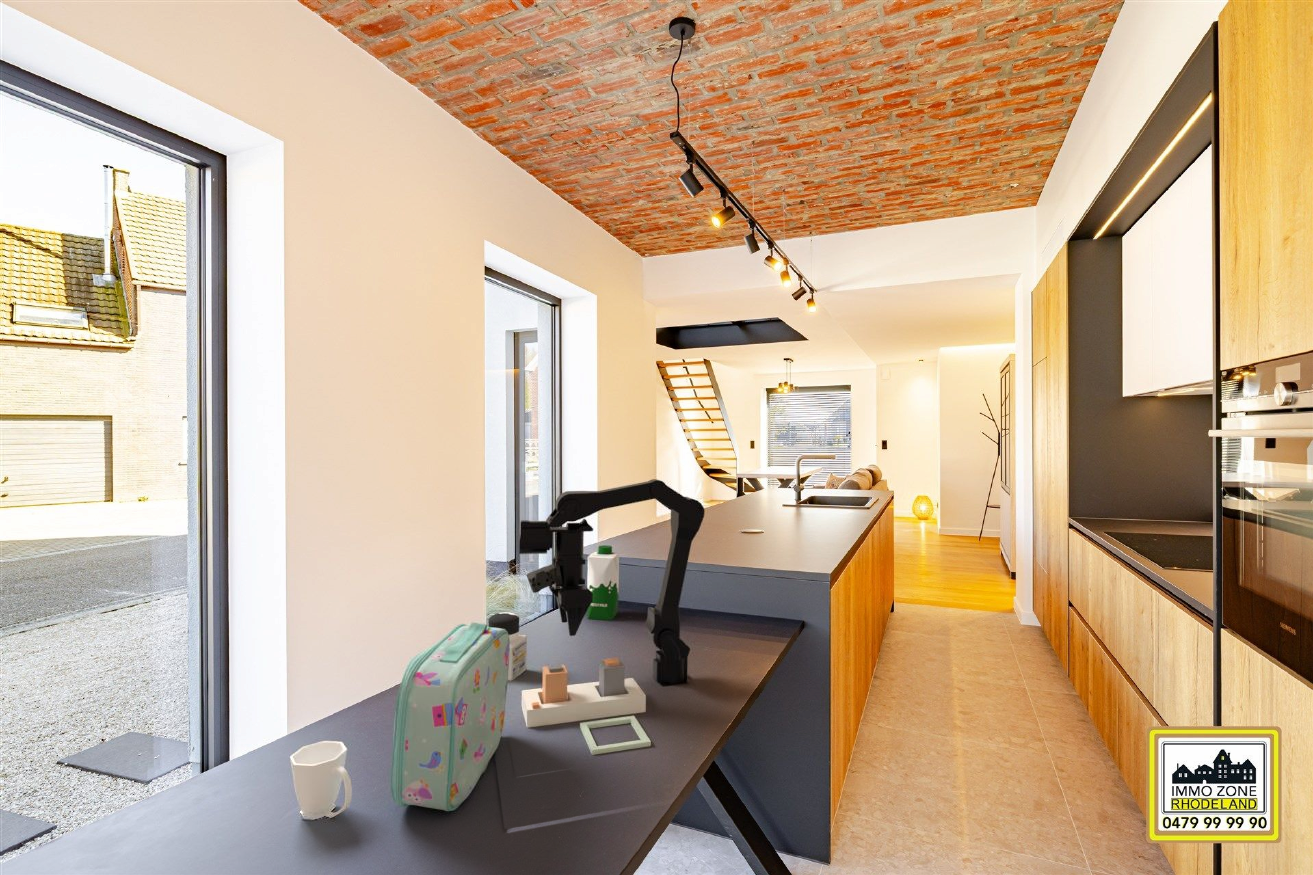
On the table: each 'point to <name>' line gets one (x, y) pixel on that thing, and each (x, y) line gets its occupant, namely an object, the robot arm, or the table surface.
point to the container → (512, 642)
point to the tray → (618, 746)
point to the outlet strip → (582, 704)
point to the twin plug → (611, 677)
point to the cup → (320, 778)
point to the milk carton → (603, 583)
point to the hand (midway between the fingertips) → (568, 628)
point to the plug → (554, 684)
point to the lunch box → (449, 717)
